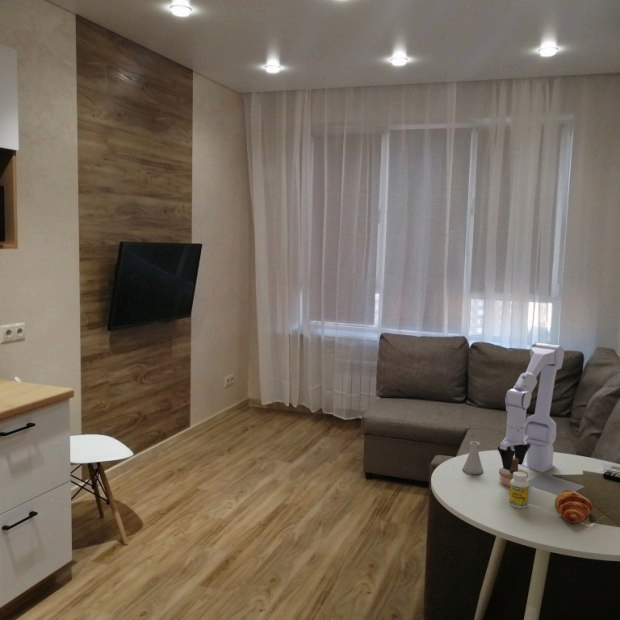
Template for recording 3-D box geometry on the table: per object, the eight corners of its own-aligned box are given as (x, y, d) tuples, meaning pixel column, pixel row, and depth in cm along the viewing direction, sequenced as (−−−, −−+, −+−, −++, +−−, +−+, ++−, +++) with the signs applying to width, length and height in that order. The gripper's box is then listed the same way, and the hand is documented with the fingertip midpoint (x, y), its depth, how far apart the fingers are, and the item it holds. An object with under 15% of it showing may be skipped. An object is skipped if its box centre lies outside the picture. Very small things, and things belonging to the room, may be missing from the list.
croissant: (560, 508, 190) (549, 484, 191) (593, 499, 187) (581, 474, 187) (561, 536, 171) (549, 509, 171) (598, 526, 167) (585, 499, 168)
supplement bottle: (527, 502, 185) (529, 472, 184) (527, 509, 180) (530, 478, 179) (508, 499, 187) (510, 469, 186) (508, 506, 182) (510, 475, 181)
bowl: (507, 477, 205) (507, 468, 205) (527, 483, 200) (528, 475, 200) (495, 482, 200) (496, 473, 200) (516, 489, 195) (516, 480, 195)
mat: (543, 474, 209) (543, 473, 209) (584, 487, 198) (584, 486, 198) (523, 484, 199) (523, 483, 199) (565, 498, 189) (565, 497, 189)
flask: (481, 468, 213) (483, 440, 212) (485, 475, 206) (487, 447, 205) (460, 466, 214) (462, 439, 213) (463, 474, 206) (465, 445, 205)
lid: (506, 467, 206) (507, 452, 205) (532, 474, 200) (533, 459, 199) (494, 474, 199) (495, 458, 199) (520, 482, 193) (522, 466, 193)
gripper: (515, 433, 190) (512, 475, 192) (538, 425, 200) (535, 465, 201) (495, 427, 195) (492, 468, 197) (518, 420, 205) (515, 459, 207)
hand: (512, 466), depth 200 cm, fingers open, 7 cm apart
